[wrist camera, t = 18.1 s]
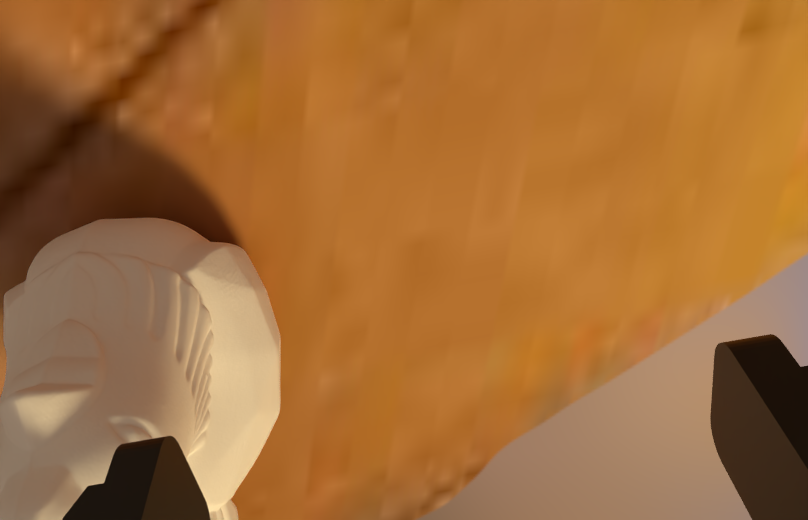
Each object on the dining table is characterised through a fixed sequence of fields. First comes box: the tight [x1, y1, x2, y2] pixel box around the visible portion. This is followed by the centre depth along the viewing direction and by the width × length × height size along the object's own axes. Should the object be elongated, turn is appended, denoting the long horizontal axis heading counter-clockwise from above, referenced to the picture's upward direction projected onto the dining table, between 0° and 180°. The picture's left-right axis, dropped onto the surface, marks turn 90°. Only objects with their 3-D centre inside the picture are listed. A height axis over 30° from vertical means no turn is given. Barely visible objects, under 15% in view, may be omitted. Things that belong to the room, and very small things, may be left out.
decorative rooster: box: [0, 218, 281, 520], centre depth 43 cm, size 25×16×25 cm, turn 178°
